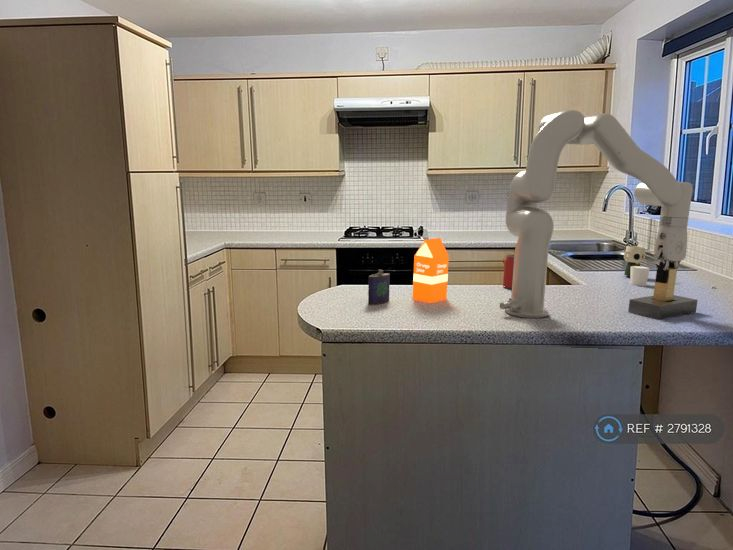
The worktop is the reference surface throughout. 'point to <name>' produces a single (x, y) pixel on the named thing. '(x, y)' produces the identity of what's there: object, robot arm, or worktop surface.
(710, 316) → the worktop surface
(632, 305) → the grey slotted block
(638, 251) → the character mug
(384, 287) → the flask
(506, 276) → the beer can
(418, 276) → the orange juice
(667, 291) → the brass peg
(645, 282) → the white cube
